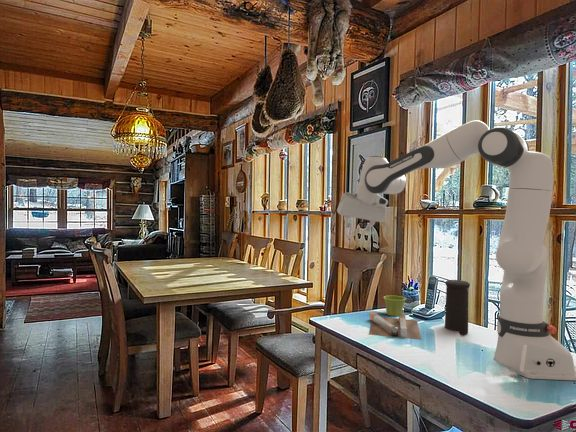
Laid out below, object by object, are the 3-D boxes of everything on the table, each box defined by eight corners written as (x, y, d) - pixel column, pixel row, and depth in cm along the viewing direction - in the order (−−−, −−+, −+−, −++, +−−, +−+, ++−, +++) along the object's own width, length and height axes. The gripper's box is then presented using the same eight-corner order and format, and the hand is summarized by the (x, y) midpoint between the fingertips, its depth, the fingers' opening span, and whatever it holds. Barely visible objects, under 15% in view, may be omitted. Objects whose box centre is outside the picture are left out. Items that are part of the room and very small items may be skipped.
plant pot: (380, 318, 165) (380, 298, 165) (386, 313, 173) (386, 294, 173) (402, 321, 160) (402, 301, 160) (407, 316, 168) (407, 297, 168)
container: (473, 333, 146) (474, 281, 146) (460, 337, 141) (461, 283, 141) (452, 327, 153) (453, 277, 153) (439, 331, 148) (440, 279, 148)
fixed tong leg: (405, 321, 155) (405, 313, 155) (407, 337, 134) (407, 328, 134) (398, 320, 156) (399, 312, 156) (400, 337, 135) (400, 328, 135)
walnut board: (416, 324, 157) (416, 320, 157) (421, 343, 133) (421, 339, 133) (372, 320, 162) (372, 316, 162) (368, 338, 138) (368, 334, 138)
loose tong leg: (375, 319, 157) (375, 312, 157) (399, 336, 136) (399, 328, 136) (369, 319, 157) (369, 312, 157) (393, 336, 135) (393, 328, 135)
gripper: (345, 192, 146) (336, 227, 149) (391, 202, 152) (382, 234, 155) (339, 189, 152) (331, 222, 155) (384, 198, 158) (375, 230, 161)
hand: (357, 228), depth 155 cm, fingers open, 8 cm apart
